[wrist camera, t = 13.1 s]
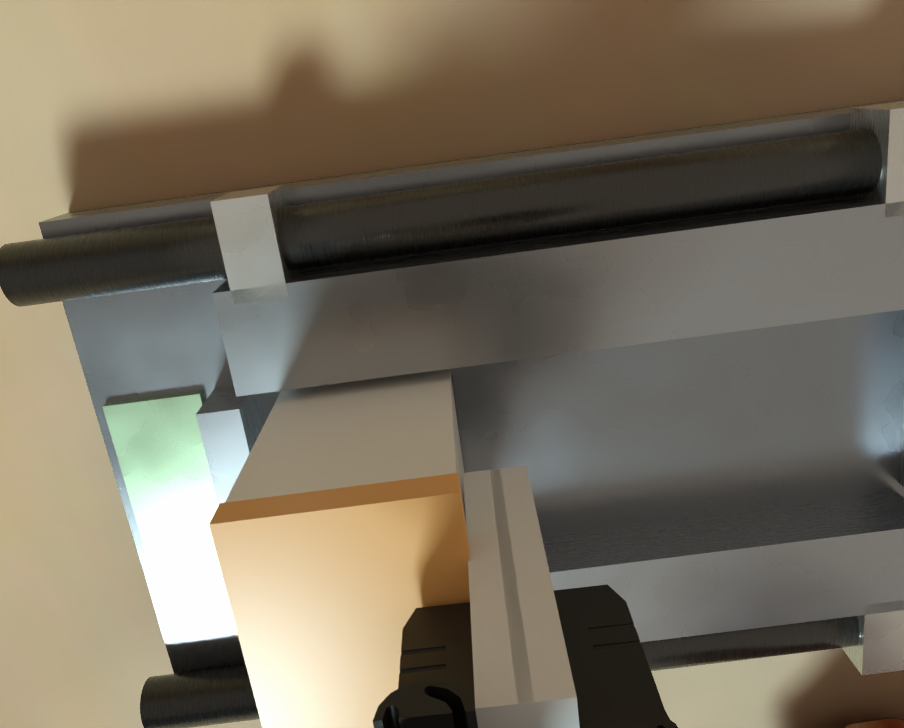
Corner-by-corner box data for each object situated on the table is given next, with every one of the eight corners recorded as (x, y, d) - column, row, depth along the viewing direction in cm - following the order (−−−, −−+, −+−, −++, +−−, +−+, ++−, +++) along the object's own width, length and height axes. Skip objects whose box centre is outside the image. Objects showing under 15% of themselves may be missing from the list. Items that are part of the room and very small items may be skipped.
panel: (184, 679, 24) (150, 761, 21) (45, 211, 19) (-23, 233, 16) (1014, 577, 23) (1096, 646, 21) (1075, 71, 19) (1193, 68, 16)
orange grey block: (320, 563, 21) (272, 767, 14) (281, 382, 19) (208, 524, 13) (476, 543, 21) (495, 740, 14) (451, 360, 19) (460, 492, 13)
